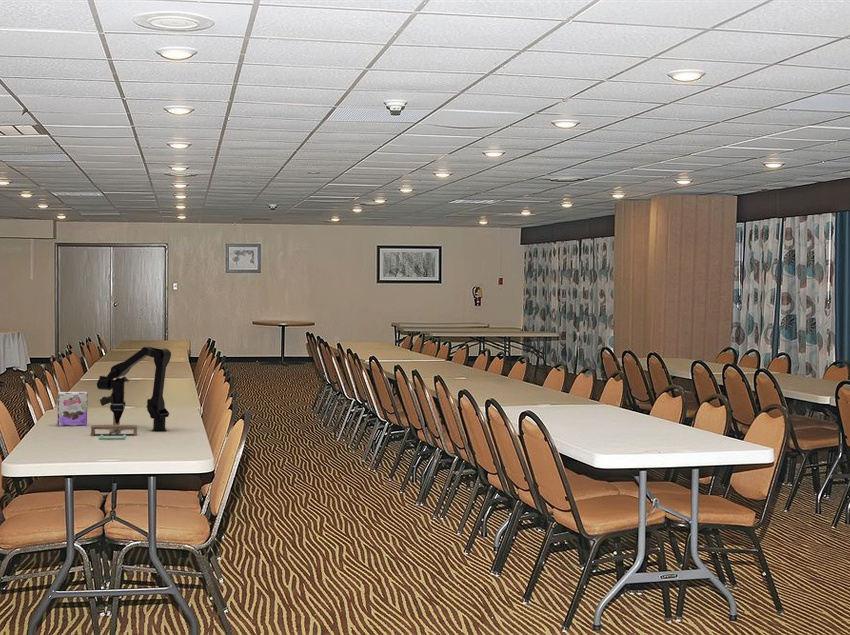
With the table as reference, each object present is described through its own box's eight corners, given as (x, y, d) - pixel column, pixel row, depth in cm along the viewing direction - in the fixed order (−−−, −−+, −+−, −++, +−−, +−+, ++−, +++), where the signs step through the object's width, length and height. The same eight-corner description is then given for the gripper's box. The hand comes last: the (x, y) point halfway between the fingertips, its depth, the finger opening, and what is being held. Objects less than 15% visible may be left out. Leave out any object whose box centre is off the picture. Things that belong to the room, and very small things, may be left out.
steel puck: (107, 435, 462) (107, 432, 462) (115, 433, 465) (115, 430, 465) (112, 435, 459) (112, 432, 459) (120, 434, 462) (120, 431, 462)
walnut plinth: (92, 433, 463) (92, 424, 463) (136, 433, 467) (136, 424, 467) (90, 435, 457) (91, 426, 457) (136, 435, 462) (136, 426, 462)
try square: (111, 427, 488) (111, 409, 487) (121, 427, 489) (122, 409, 489) (109, 433, 466) (109, 415, 466) (120, 433, 468) (120, 415, 468)
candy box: (57, 426, 485) (57, 392, 484) (56, 424, 490) (57, 391, 490) (87, 425, 490) (87, 392, 489) (86, 424, 495) (87, 391, 495)
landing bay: (100, 436, 456) (100, 434, 456) (125, 436, 459) (125, 434, 459) (98, 439, 445) (99, 438, 445) (124, 439, 448) (124, 437, 448)
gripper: (102, 388, 493) (101, 420, 493) (99, 392, 475) (98, 425, 475) (125, 388, 496) (125, 420, 496) (123, 392, 478) (123, 424, 478)
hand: (117, 422), depth 486 cm, fingers open, 7 cm apart
